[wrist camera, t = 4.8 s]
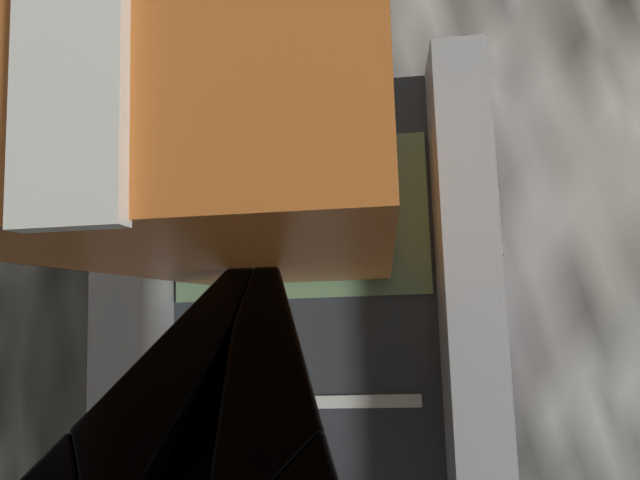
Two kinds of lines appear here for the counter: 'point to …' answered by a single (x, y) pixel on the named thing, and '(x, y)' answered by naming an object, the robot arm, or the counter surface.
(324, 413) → the fader console
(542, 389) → the counter surface
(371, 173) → the fader knob
